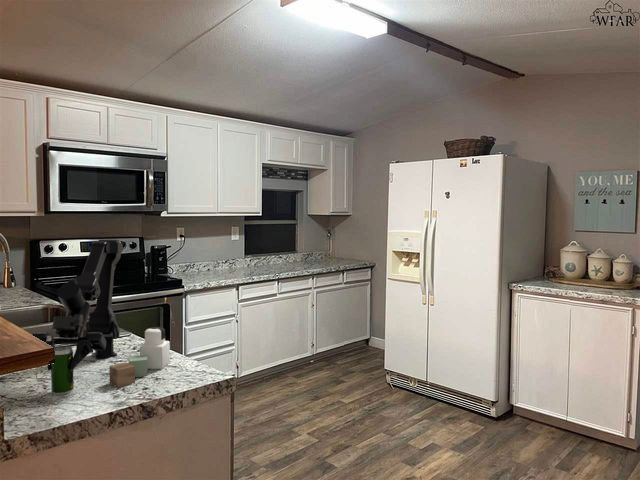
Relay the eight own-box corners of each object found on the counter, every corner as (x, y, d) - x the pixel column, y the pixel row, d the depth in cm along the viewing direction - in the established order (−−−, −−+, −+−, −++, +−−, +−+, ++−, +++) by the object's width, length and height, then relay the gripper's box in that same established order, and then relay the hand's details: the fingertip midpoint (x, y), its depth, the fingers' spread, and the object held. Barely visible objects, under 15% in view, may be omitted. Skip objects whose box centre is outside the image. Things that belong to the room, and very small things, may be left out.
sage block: (128, 372, 151) (128, 356, 151) (146, 370, 153) (146, 354, 153) (129, 378, 147) (129, 361, 146) (147, 376, 149) (147, 359, 148)
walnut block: (109, 383, 142) (109, 366, 142) (126, 379, 146) (126, 362, 146) (117, 387, 139) (117, 370, 139) (134, 383, 143) (134, 366, 142)
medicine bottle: (148, 361, 162) (147, 325, 161) (170, 362, 162) (169, 325, 161) (139, 368, 155) (139, 330, 154) (162, 369, 155) (162, 331, 154)
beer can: (52, 397, 131) (51, 352, 130) (50, 390, 136) (49, 347, 135) (75, 393, 134) (74, 349, 133) (72, 387, 139) (71, 344, 138)
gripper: (31, 303, 136) (11, 355, 126) (102, 303, 138) (87, 354, 128) (45, 325, 145) (27, 375, 135) (112, 325, 146) (99, 374, 136)
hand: (59, 369), depth 133 cm, fingers closed on beer can, 5 cm apart
